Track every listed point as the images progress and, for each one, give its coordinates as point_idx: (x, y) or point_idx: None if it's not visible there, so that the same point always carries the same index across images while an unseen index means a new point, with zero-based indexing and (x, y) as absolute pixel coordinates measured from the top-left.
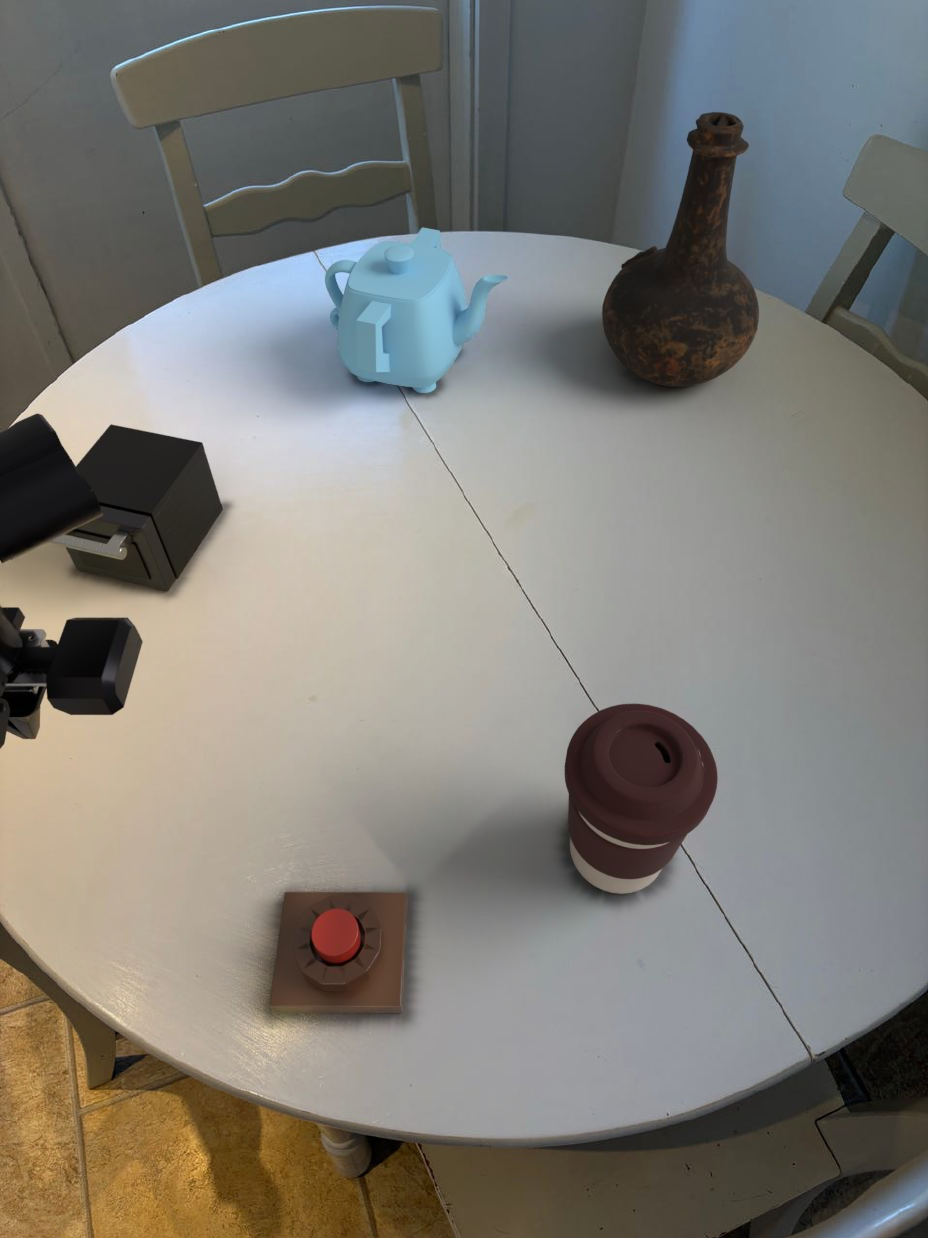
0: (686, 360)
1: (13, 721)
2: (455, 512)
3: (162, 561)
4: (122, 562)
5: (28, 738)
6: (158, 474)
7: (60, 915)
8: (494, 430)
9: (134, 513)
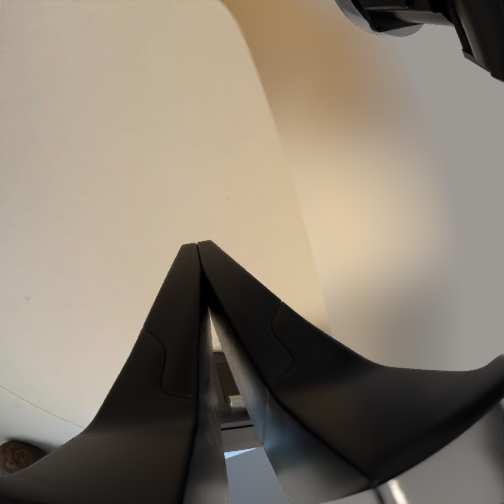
0: (5, 459)
1: (187, 328)
2: (47, 407)
3: None
4: None
5: (197, 244)
6: (224, 442)
7: (169, 13)
8: (66, 434)
9: (229, 427)
